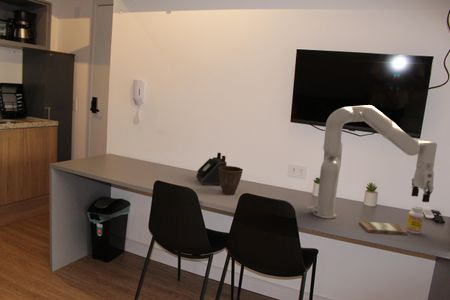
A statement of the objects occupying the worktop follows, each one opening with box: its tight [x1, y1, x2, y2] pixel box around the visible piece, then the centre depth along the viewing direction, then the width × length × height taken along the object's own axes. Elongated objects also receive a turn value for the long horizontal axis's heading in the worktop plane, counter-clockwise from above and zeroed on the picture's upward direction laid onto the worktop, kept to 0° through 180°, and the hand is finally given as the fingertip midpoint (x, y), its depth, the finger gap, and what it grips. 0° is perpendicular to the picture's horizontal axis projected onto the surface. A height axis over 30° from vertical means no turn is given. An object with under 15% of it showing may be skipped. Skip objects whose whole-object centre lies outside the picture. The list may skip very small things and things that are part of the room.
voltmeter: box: [195, 152, 228, 187], centre depth 248 cm, size 16×16×20 cm
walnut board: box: [358, 221, 409, 236], centre depth 186 cm, size 20×11×2 cm, turn 92°
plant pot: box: [219, 165, 243, 196], centre depth 226 cm, size 15×15×16 cm
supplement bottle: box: [405, 205, 425, 235], centre depth 185 cm, size 7×7×13 cm
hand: (419, 199), depth 183 cm, fingers open, 9 cm apart
